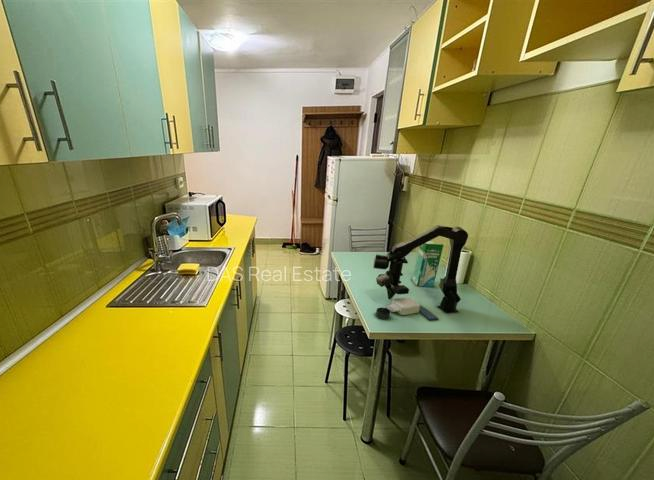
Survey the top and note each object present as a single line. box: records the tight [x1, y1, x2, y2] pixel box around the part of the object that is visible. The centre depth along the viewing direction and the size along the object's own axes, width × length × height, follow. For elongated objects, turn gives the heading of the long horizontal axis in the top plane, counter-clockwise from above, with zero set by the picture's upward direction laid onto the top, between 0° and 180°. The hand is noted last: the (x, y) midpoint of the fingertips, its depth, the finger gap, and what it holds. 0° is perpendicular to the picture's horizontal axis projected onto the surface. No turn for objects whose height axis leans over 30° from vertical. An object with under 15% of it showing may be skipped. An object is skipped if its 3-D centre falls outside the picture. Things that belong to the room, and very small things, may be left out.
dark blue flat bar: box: [418, 303, 439, 321], centre depth 144 cm, size 4×15×1 cm, turn 13°
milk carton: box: [411, 240, 444, 288], centre depth 170 cm, size 9×9×25 cm
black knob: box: [375, 307, 391, 321], centre depth 139 cm, size 6×6×3 cm
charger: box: [385, 296, 421, 316], centre depth 143 cm, size 5×9×15 cm
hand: (389, 299), depth 152 cm, fingers closed
